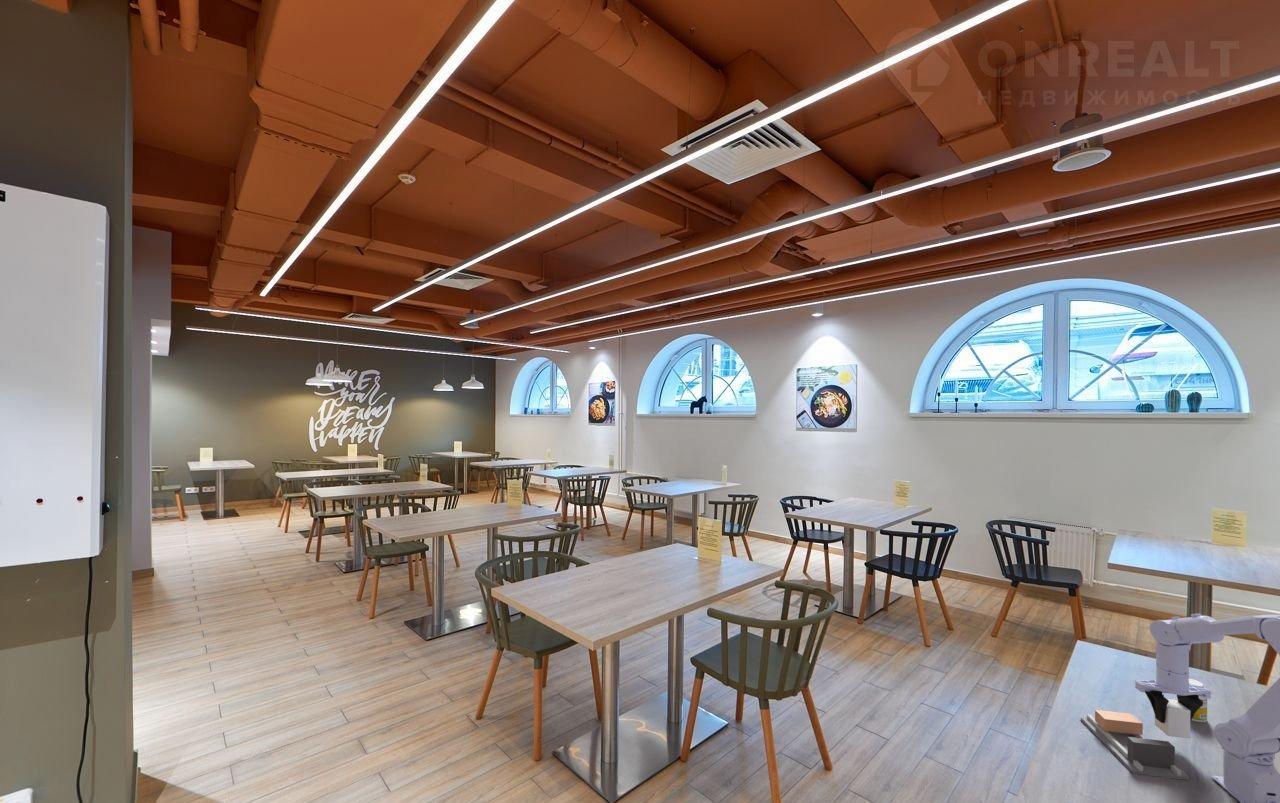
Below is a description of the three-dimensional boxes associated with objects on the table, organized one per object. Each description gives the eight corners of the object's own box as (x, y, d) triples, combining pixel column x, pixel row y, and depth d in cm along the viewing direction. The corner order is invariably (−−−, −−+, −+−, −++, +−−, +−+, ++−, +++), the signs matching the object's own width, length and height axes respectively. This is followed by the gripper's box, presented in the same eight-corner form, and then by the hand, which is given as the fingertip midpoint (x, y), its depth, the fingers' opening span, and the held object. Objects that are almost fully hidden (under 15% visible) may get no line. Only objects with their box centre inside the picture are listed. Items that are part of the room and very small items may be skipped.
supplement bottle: (1176, 708, 146) (1177, 674, 146) (1204, 715, 143) (1205, 680, 143) (1180, 717, 142) (1180, 682, 142) (1209, 725, 139) (1209, 689, 139)
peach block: (1142, 734, 132) (1142, 723, 132) (1104, 730, 134) (1104, 719, 134) (1131, 725, 136) (1131, 713, 136) (1094, 721, 138) (1095, 709, 138)
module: (1190, 738, 127) (1190, 710, 127) (1168, 736, 128) (1168, 708, 128) (1175, 727, 132) (1176, 699, 132) (1154, 724, 133) (1154, 697, 133)
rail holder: (1188, 780, 120) (1188, 753, 119) (1132, 772, 122) (1132, 746, 122) (1128, 725, 139) (1128, 702, 139) (1080, 720, 142) (1080, 697, 141)
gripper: (1194, 663, 132) (1194, 715, 132) (1127, 657, 135) (1127, 708, 136) (1218, 677, 125) (1218, 733, 125) (1146, 671, 129) (1146, 725, 129)
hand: (1172, 721), depth 130 cm, fingers closed on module, 4 cm apart
